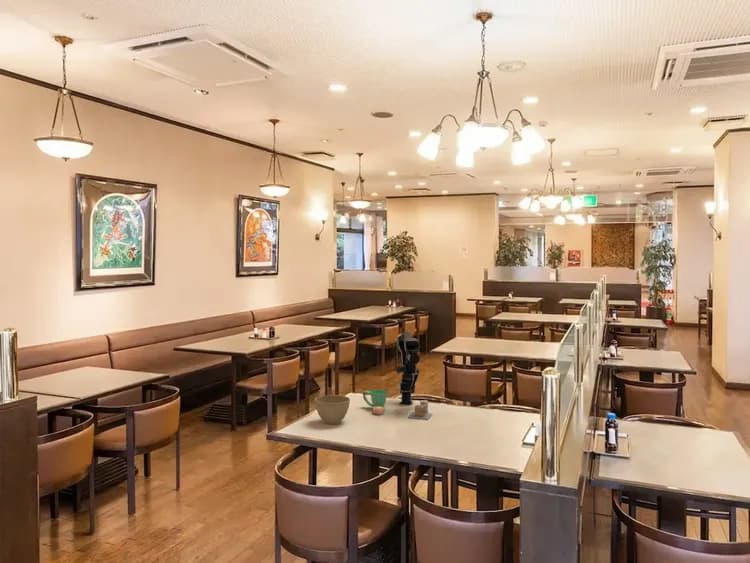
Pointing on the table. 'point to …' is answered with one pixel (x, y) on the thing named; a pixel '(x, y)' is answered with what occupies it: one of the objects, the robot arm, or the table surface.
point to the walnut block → (420, 410)
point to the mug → (376, 397)
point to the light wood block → (424, 402)
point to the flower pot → (332, 408)
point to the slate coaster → (419, 416)
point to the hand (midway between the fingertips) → (410, 388)
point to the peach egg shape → (378, 410)
